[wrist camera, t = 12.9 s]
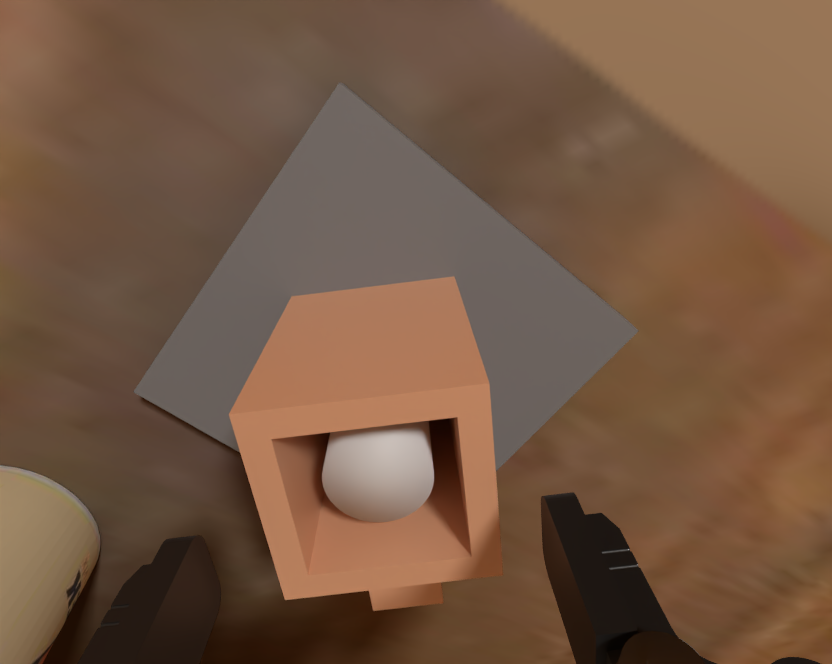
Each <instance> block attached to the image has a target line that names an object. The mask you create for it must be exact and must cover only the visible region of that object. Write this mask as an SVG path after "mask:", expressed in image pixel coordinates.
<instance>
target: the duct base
mask: <svg viewBox="0 0 832 664" xmlns="http://www.w3.org/2000/svg"><path fill="white" fill-rule="evenodd" d="M453 276H454V277H455V280H456V283H457V286H458V289H459V292H460V295H461V298H462V301H463V304H464V307H465V310H466V313H467V316H468V319H469V322H470V325H471V328H472V332H473V335H474V338H475V341H476V344H477V347H478V350H479V353H480V356H481V359H482V362H483V365H484V368H485V371H486V374H487V377H488V380H489V384H490V398H491V412H492V426H493V440H494V454H495V468H496V471H497V470H498V469H499V468H500V467H501V466H502V465H503V464H504V463H505V462H506V461H507V460H508V459H509V458H510V457H511V456H512V455H513V454H514V453H515V452H516V451H517V450H518V449H519V448H520V447H521V446H522V445H523V444H524V443H525V442H526V441H527V440H528V439H529V438H530V437H531V436H532V435H533V434H534V433H535V432H536V431H537V430H538V429H539V428H540V427H541V426H542V425H543V424H544V423H545V422H546V421H547V420H548V419H550V418H551V417H552V416H553V415H554V414H555V413H556V412H557V411H558V410H559V409H560V408H561V407H562V406H563V405H564V404H565V403H566V402H567V401H568V400H569V399H570V398H571V397H572V396H573V395H574V394H575V393H576V392H577V391H578V390H579V389H580V388H581V387H582V386H583V385H584V384H585V383H586V382H587V381H588V380H589V379H590V378H591V377H592V376H593V375H594V374H595V373H596V372H597V371H598V370H599V369H600V368H601V367H602V366H603V365H604V364H605V363H606V362H607V361H609V360H610V359H611V358H612V357H613V356H614V355H615V354H616V353H617V352H618V351H619V350H620V349H621V348H622V347H623V346H624V345H625V344H626V343H627V342H628V341H629V340H630V339H631V338H632V337H633V336H634V335H635V334H636V333H637V332H638V330H637V329H636V328H635V327H634V326H633V325H632V324H631V323H630V322H629V321H628V320H627V319H626V318H624V317H623V316H622V315H621V314H620V313H618V312H617V311H616V310H615V309H614V308H612V307H611V306H610V305H609V304H607V303H606V302H605V301H604V300H603V299H601V298H600V297H599V296H598V295H597V294H595V293H594V292H593V291H592V290H591V289H589V288H588V287H587V286H586V285H585V284H583V283H582V282H581V281H580V280H579V279H577V278H576V277H575V276H574V275H573V274H571V273H570V272H569V271H568V270H567V269H565V268H564V267H563V266H562V265H561V264H559V263H558V262H557V261H556V260H555V259H553V258H552V257H551V256H550V255H549V254H547V253H546V252H545V251H544V250H543V249H541V248H540V247H539V246H538V245H537V244H535V243H534V242H533V241H532V240H531V239H529V238H528V237H527V236H526V235H525V234H523V233H522V232H521V231H520V230H518V229H517V228H516V227H515V226H514V225H512V224H511V223H510V222H509V221H508V220H506V219H505V218H504V217H503V216H502V215H500V214H499V213H498V212H497V211H496V210H494V209H493V208H492V207H491V206H490V205H488V204H487V203H486V202H485V201H484V200H482V199H481V198H480V197H479V196H478V195H476V194H475V193H474V192H473V191H472V190H470V189H469V188H468V187H467V186H466V185H464V184H463V183H462V182H461V181H460V180H458V179H457V178H456V177H455V176H454V175H452V174H451V173H450V172H449V171H448V170H446V169H445V168H444V167H443V166H442V165H440V164H439V163H438V162H437V161H436V160H434V159H433V158H432V157H431V156H429V155H428V154H427V153H426V152H425V151H423V150H422V149H421V148H420V147H419V146H417V145H416V144H415V143H414V142H413V141H411V140H410V139H409V138H408V137H407V136H405V135H404V134H403V133H402V132H401V131H399V130H398V129H397V128H396V127H395V126H393V125H392V124H391V123H390V122H389V121H387V120H386V119H385V118H384V117H383V116H381V115H380V114H379V113H378V112H377V111H375V110H374V109H373V108H372V107H371V106H369V105H368V104H367V103H366V102H365V101H363V100H362V99H361V98H360V97H359V96H357V95H356V94H355V93H354V92H353V91H351V90H350V89H349V88H348V87H347V86H345V85H344V84H343V83H339V84H338V85H337V87H336V88H335V90H334V91H333V93H332V94H331V96H330V97H329V99H328V100H327V102H326V103H325V105H324V106H323V108H322V109H321V111H320V112H319V114H318V115H317V117H316V118H315V120H314V121H313V123H312V124H311V126H310V127H309V129H308V130H307V132H306V133H305V135H304V136H303V138H302V139H301V141H300V142H299V144H298V145H297V147H296V148H295V150H294V151H293V153H292V154H291V156H290V157H289V159H288V160H287V162H286V163H285V165H284V166H283V168H282V170H281V171H280V173H279V174H278V176H277V177H276V179H275V180H274V182H273V183H272V185H271V186H270V188H269V189H268V191H267V192H266V194H265V195H264V197H263V198H262V200H261V201H260V203H259V204H258V206H257V207H256V209H255V210H254V212H253V213H252V215H251V216H250V218H249V219H248V221H247V222H246V224H245V225H244V227H243V228H242V230H241V231H240V233H239V234H238V236H237V237H236V239H235V240H234V242H233V243H232V245H231V246H230V248H229V249H228V251H227V252H226V254H225V255H224V257H223V258H222V260H221V261H220V263H219V264H218V266H217V267H216V269H215V270H214V272H213V273H212V275H211V276H210V278H209V279H208V281H207V282H206V284H205V285H204V287H203V288H202V290H201V291H200V293H199V294H198V296H197V297H196V299H195V300H194V302H193V303H192V305H191V306H190V308H189V309H188V311H187V312H186V314H185V315H184V317H183V318H182V320H181V321H180V323H179V324H178V326H177V327H176V329H175V330H174V332H173V333H172V335H171V336H170V338H169V339H168V341H167V342H166V344H165V345H164V347H163V348H162V350H161V351H160V353H159V354H158V356H157V357H156V359H155V360H154V362H153V363H152V365H151V366H150V368H149V369H148V371H147V372H146V374H145V375H144V377H143V378H142V380H141V381H140V383H139V384H138V386H137V387H136V389H135V390H134V393H136V394H138V395H139V396H141V397H143V398H145V399H146V400H148V401H150V402H152V403H153V404H155V405H157V406H159V407H160V408H162V409H164V410H166V411H167V412H169V413H171V414H173V415H175V416H176V417H178V418H180V419H182V420H183V421H185V422H187V423H189V424H190V425H192V426H194V427H196V428H197V429H199V430H201V431H203V432H205V433H206V434H208V435H210V436H212V437H213V438H215V439H217V440H219V441H220V442H222V443H224V444H226V445H227V446H229V447H231V448H233V449H234V450H236V451H238V452H240V450H239V447H238V443H237V440H236V437H235V434H234V430H233V427H232V424H231V420H230V417H229V413H230V411H231V409H232V407H233V405H234V404H235V402H236V400H237V398H238V396H239V394H240V392H241V390H242V389H243V387H244V385H245V383H246V381H247V379H248V377H249V375H250V374H251V372H252V370H253V368H254V366H255V364H256V362H257V360H258V359H259V357H260V355H261V353H262V351H263V349H264V347H265V345H266V344H267V342H268V340H269V338H270V336H271V334H272V332H273V330H274V329H275V327H276V325H277V323H278V321H279V319H280V317H281V315H282V314H283V312H284V310H285V308H286V306H287V304H288V302H289V300H290V299H291V297H292V296H299V295H307V294H315V293H324V292H332V291H340V290H348V289H356V288H364V287H372V286H380V285H388V284H396V283H405V282H413V281H421V280H429V279H437V278H445V277H453ZM322 482H323V487H324V490H325V493H326V495H327V497H328V498H329V499H330V501H331V502H332V503H333V504H334V505H335V506H336V507H337V508H338V509H339V510H340V511H342V512H343V513H345V514H347V515H349V516H351V517H353V518H356V519H359V520H363V521H368V522H389V521H394V520H398V519H401V518H403V517H406V516H408V515H410V514H411V513H413V512H414V511H416V510H417V509H418V508H420V507H421V506H422V505H423V504H424V502H425V501H426V500H427V498H428V497H429V495H430V493H431V491H432V488H433V484H434V469H433V459H432V449H431V439H430V429H429V421H421V422H412V423H404V424H395V425H387V426H379V427H370V428H362V429H353V430H345V431H337V432H330V436H329V441H328V446H327V451H326V456H325V461H324V466H323V472H322Z"/></svg>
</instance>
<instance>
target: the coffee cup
mask: <svg viewBox="0 0 832 664" xmlns="http://www.w3.org/2000/svg"><path fill="white" fill-rule="evenodd" d="M100 545H101V541H100V534H99V530H98V526H97V524H96V522H95V520H94V518H93V516H92V514H91V513H90V512H89V510H88V509H87V507H86V506H85V505H84V504H83V503H82V502H81V501H80V500H79V499H78V498H77V497H76V496H75V495H74V494H72V493H71V492H70V491H68V490H67V489H66V488H64V487H63V486H61V485H60V484H58V483H56V482H54V481H53V480H51V479H49V478H47V477H45V476H42V475H40V474H37V473H34V472H31V471H28V470H24V469H20V468H16V467H9V466H1V465H0V664H42V663H43V662H44V660H45V658H46V656H47V654H48V652H49V651H50V649H51V647H52V645H53V643H54V641H55V640H56V638H57V636H58V634H59V632H60V630H61V628H62V627H63V625H64V623H65V621H66V619H67V617H68V616H69V614H70V612H71V610H72V608H73V606H74V605H75V603H76V601H77V599H78V597H79V595H80V593H81V592H82V590H83V588H84V586H85V584H86V582H87V580H88V578H89V576H90V574H91V572H92V570H93V568H94V566H95V564H96V562H97V560H98V556H99V552H100Z"/></svg>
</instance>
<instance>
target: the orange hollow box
mask: <svg viewBox="0 0 832 664" xmlns="http://www.w3.org/2000/svg"><path fill="white" fill-rule="evenodd" d="M229 417H230V420H231V424H232V427H233V430H234V434H235V437H236V440H237V443H238V447H239V450H240V453H241V457H242V460H243V463H244V466H245V470H246V473H247V476H248V480H249V483H250V486H251V489H252V493H253V496H254V499H255V503H256V506H257V509H258V512H259V516H260V519H261V522H262V526H263V529H264V532H265V535H266V539H267V542H268V545H269V549H270V552H271V555H272V558H273V562H274V565H275V568H276V572H277V575H278V578H279V581H280V585H281V588H282V591H283V595H284V598H285V600H290V599H299V598H308V597H317V596H325V595H334V594H343V593H352V592H361V591H369V593H370V598H371V603H372V607H373V611H378V610H387V609H396V608H405V607H413V606H422V605H431V604H440V603H443V593H442V582H448V581H457V580H466V579H475V578H483V577H492V576H501V575H503V565H502V552H501V538H500V524H499V510H498V496H497V482H496V468H495V454H494V440H493V426H492V412H491V398H490V384H489V380H488V377H487V374H486V371H485V368H484V365H483V362H482V359H481V356H480V353H479V350H478V347H477V344H476V341H475V338H474V335H473V332H472V328H471V325H470V322H469V319H468V316H467V313H466V310H465V307H464V304H463V301H462V298H461V295H460V292H459V289H458V286H457V283H456V280H455V277H454V276H453V277H445V278H437V279H429V280H421V281H413V282H405V283H396V284H388V285H380V286H372V287H364V288H356V289H348V290H340V291H332V292H324V293H315V294H307V295H299V296H292V297H291V299H290V300H289V302H288V304H287V306H286V308H285V310H284V312H283V314H282V315H281V317H280V319H279V321H278V323H277V325H276V327H275V329H274V330H273V332H272V334H271V336H270V338H269V340H268V342H267V344H266V345H265V347H264V349H263V351H262V353H261V355H260V357H259V359H258V360H257V362H256V364H255V366H254V368H253V370H252V372H251V374H250V375H249V377H248V379H247V381H246V383H245V385H244V387H243V389H242V390H241V392H240V394H239V396H238V398H237V400H236V402H235V404H234V405H233V407H232V409H231V411H230V413H229ZM421 421H429V429H430V439H431V449H432V459H433V469H434V484H433V488H432V491H431V493H430V495H429V497H428V498H427V500H426V501H425V502H424V504H423V505H422V506H421V507H420V508H418V509H417V510H416V511H414V512H413V513H411V514H410V515H408V516H406V517H403V518H401V519H398V520H394V521H389V522H368V521H363V520H359V519H356V518H353V517H351V516H349V515H347V514H345V513H343V512H342V511H340V510H339V509H338V508H337V507H336V506H335V505H334V504H333V503H332V502H331V501H330V499H329V498H328V497H327V495H326V493H325V490H324V487H323V482H322V472H323V466H324V461H325V456H326V451H327V446H328V441H329V436H330V432H337V431H345V430H353V429H362V428H370V427H379V426H387V425H395V424H404V423H412V422H421Z"/></svg>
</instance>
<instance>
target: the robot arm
mask: <svg viewBox="0 0 832 664" xmlns="http://www.w3.org/2000/svg"><path fill="white" fill-rule="evenodd" d="M541 517H542V542H543V554H544V560H545V565H546V569H547V573H548V576H549V579H550V583H551V586H552V589H553V592H554V595H555V598H556V601H557V604H558V608H559V611H560V614H561V617H562V620H563V623H564V626H565V629H566V633H567V636H568V639H569V642H570V645H571V648H572V651H573V654H574V658H575V661H576V664H716V663H714V662H711V661H709V660H707V659H705V658H703V657H701V656H700V655H699V654H698V653H697V652H696V651H695V650H694V649H693V648H692V647H691V646H690V645H688V644H687V643H686V642H684V641H683V640H681V639H679V638H678V637H677V635H676V634H675V632H674V631H673V629H672V628H671V626H670V624H669V622H668V620H667V618H666V616H665V614H664V612H663V611H662V609H661V607H660V605H659V603H658V601H657V599H656V597H655V595H654V593H653V592H652V590H651V588H650V586H649V584H648V582H647V580H646V578H645V576H644V574H643V572H642V571H641V569H640V568H639V567H638V563H637V561H636V559H635V557H634V555H633V553H632V552H630V548H629V546H628V544H627V542H626V540H625V538H624V536H623V534H622V533H621V531H620V529H619V528H618V527H617V526H616V525H615V524H614V523H612V522H611V521H610V520H609V519H608V518H607V517H606V516H604V515H603V514H602V513H597V514H588V515H585V514H584V512H583V510H582V508H581V505H580V503H579V501H578V499H577V497H576V495H575V494H574V493H564V494H556V495H547V496H542V497H541ZM220 600H221V589H220V583H219V579H218V577H217V574H216V571H215V568H214V565H213V563H212V560H211V557H210V554H209V551H208V549H207V546H206V543H205V541H204V539H203V537H202V536H200V535H197V536H189V537H180V538H172V539H167V540H165V541H164V542H163V544H162V545H161V547H160V549H159V551H158V553H157V554H156V556H155V558H154V560H153V562H152V564H149V565H143V566H142V567H141V568H140V569H139V570H138V571H137V572H136V573H135V574H134V575H133V576H132V577H131V578H130V579H129V580H128V581H127V582H126V583H125V584H124V585H123V586H122V588H121V590H120V591H119V593H118V595H117V596H116V598H115V600H114V602H113V603H112V605H111V610H108V612H107V614H106V615H105V617H104V619H103V621H102V622H101V627H100V628H98V629H97V631H96V633H95V634H94V636H93V638H92V640H91V641H90V643H89V645H88V646H87V648H86V650H85V652H84V653H83V655H82V657H81V658H80V660H79V662H78V664H200V661H201V658H202V655H203V653H204V650H205V647H206V644H207V642H208V639H209V636H210V633H211V630H212V628H213V625H214V622H215V619H216V617H217V614H218V611H219V607H220ZM772 664H820V663H818V662H815V661H812V660H809V659H805V658H799V657H787V658H782V659H779V660H776V661H775V662H773V663H772Z"/></svg>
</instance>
